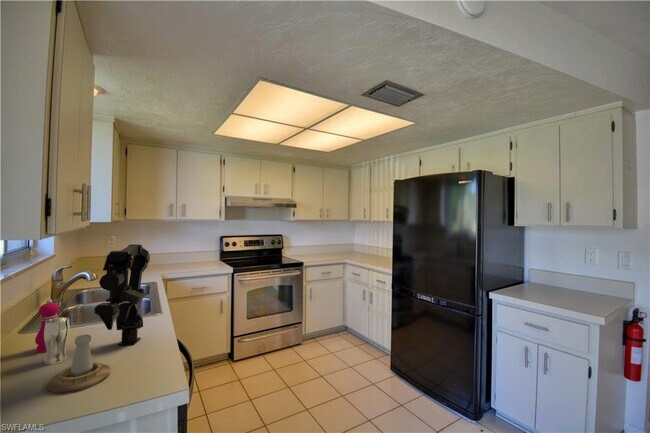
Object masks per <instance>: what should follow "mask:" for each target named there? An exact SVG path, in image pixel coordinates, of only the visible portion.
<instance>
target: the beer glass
mask: <svg viewBox="0 0 650 433" xmlns="http://www.w3.org/2000/svg"><path fill="white" fill-rule="evenodd" d="M70 324H71V323H70V317H66V316H65V317H64V316H61V317H60V316H59V317H57V318H54V319H50V320H47V321H46V322H45V330H44V340H45V346H46V352H45V353H46V356H45V358H44V364H45V365H55V364H58V363H63V362H64V361H65V360H67V359H68V356H67V350H66V349H67V343H68V340H69V337H70V331H71V330H70V329H71V328H70Z"/></svg>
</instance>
